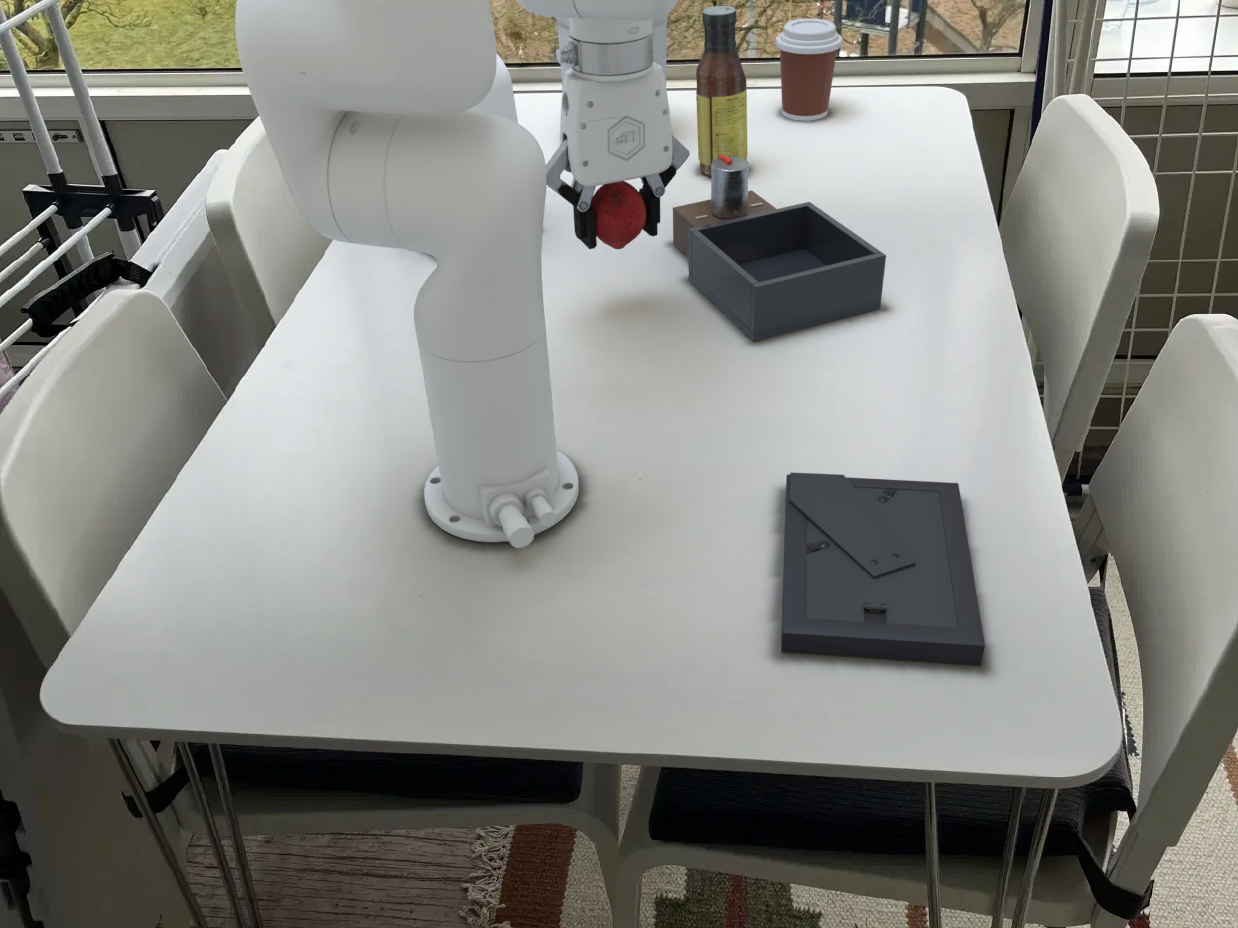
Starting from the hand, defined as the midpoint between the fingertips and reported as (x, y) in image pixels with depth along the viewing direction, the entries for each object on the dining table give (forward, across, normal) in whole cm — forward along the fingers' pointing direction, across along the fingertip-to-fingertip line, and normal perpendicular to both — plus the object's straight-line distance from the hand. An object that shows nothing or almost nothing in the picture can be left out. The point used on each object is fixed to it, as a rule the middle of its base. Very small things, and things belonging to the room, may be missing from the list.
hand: (618, 235), depth 114 cm
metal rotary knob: (+3, +16, +6) cm, 17 cm away
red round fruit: (+2, 0, 0) cm, 2 cm away
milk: (+7, -9, +25) cm, 27 cm away
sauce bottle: (+7, +26, +27) cm, 38 cm away
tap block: (+7, +16, +6) cm, 19 cm away
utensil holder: (+7, +19, +45) cm, 49 cm away
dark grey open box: (+7, +16, -6) cm, 18 cm away
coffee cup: (+6, +46, +40) cm, 61 cm away
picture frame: (+9, +1, -46) cm, 47 cm away
